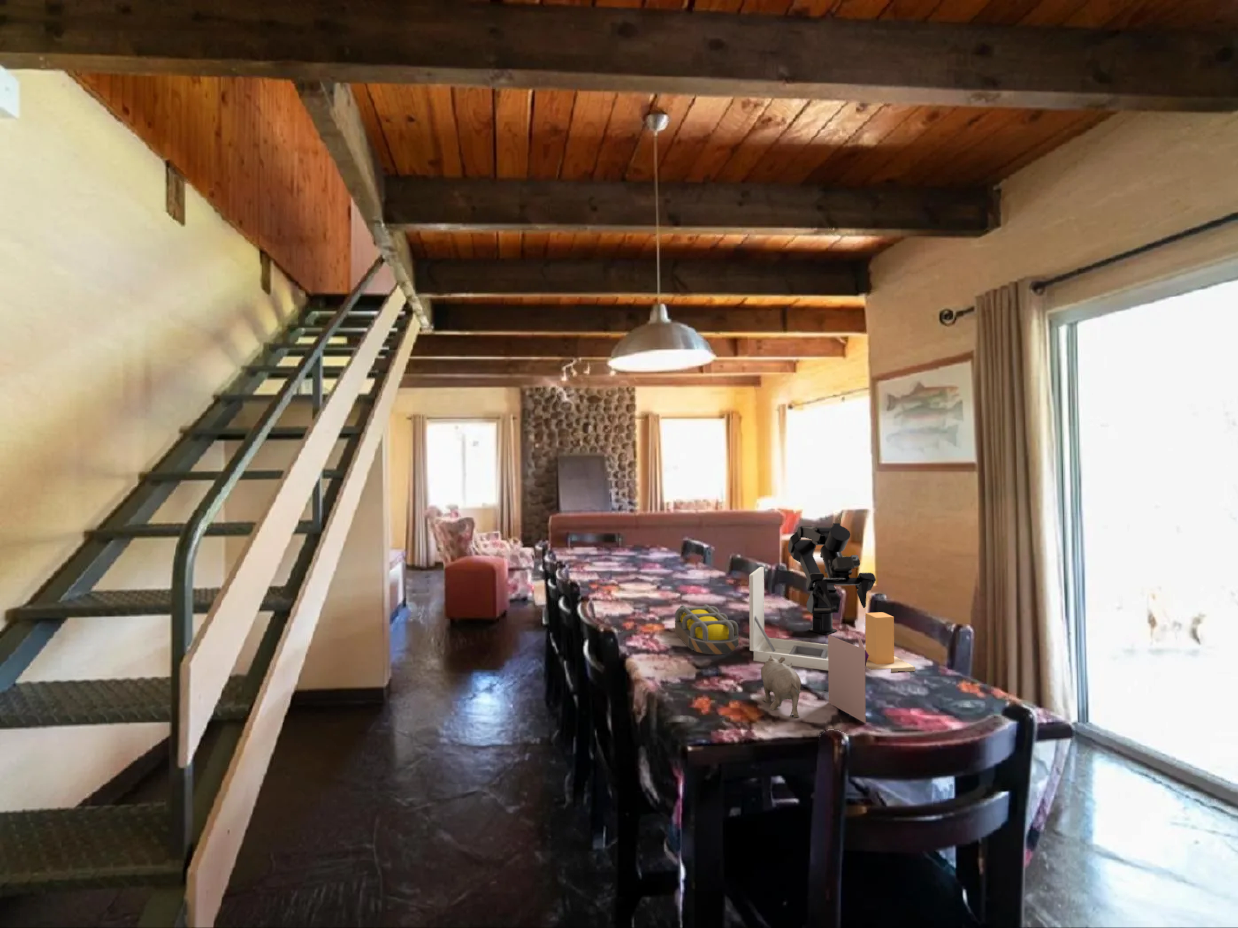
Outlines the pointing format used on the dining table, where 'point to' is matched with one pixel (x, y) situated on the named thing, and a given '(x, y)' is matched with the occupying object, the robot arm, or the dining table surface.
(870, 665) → the wooden board
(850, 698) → the greeting card
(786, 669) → the rhinoceros figurine
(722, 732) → the dining table surface
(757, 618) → the equipment case
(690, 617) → the cage light
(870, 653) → the block
